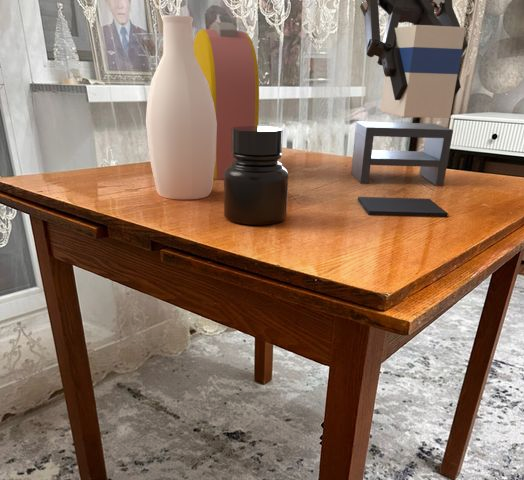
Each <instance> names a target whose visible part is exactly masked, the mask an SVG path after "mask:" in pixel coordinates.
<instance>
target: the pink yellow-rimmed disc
mask: <svg viewBox="0 0 524 480" xmlns="http://www.w3.org/2000/svg"><path fill="white" fill-rule="evenodd" d="M195 34H196V35H195V37H194V39H193V45H194V55H195V57H196V59H197V61H198V63H199V65H200V67H201V69H202V71H203V73H204V75H205V77H206V79H207V81H208V84H209V88H210V91H211V95H212V98H213V102H214V108H215V114H216V121H217V133H216V161H215V169H214V176H213V180H224V172H225V169H226V168H227V167H228V166H230V165H231V163H232V162H233V161H235V158H233V157H232V128H233V127H239V126H259V120H260V119H259V117H260V76H259V65H258V58H257V52H256V49H255V45H254V43H253V40H252V39H251V37H250V35H249V34H248V33H247V32H245V31H242V30H237V28H236V26H235V25H234V24H233V23H232V22H223V21H214V22H213V23H212V24H211V25H210V27H209V28H208V29H207V28H206V29H205V28H202V29H199V30H198V32H197V33H195Z"/></svg>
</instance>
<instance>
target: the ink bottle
mask: <svg viewBox="0 0 524 480" xmlns="http://www.w3.org/2000/svg"><path fill="white" fill-rule="evenodd" d="M283 131H284V129H282V128H281V127H280V128H279V127H274V126H261V125H260V126H259V125H258V126H239V127H233V128H232V157H233V158H235V161H233V162H232V163H231V165H230V166H228V167H227V168H226V169H225V172H224V179H223V215H224V218H225V219H226V220H228V221H230V222H233V223H237V224H243V225H248V226H249V225H250V226H252V225H253V226H265V225H273V224H277V223H280V222H283V221H284V220H286V218H287V215H288V214H287V213H288V195H289V194H288V193H289V172H288V170H287V168H285V167H284V166H283V164H282V163H281V162H279V160H281V158H282V153H283V133H284V132H283Z"/></svg>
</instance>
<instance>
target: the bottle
mask: <svg viewBox="0 0 524 480" xmlns="http://www.w3.org/2000/svg"><path fill="white" fill-rule="evenodd" d="M161 21H162V36H163V37H162V56H161V58H160V61H159V63H158V65H157V67H156V69H155V72H154V74H153V76H152V79H151V81H150V86H149V90H148V95H147V100H146V113H145V127H146V128H145V129H146V136H147V137H146V138H147V145H148V146H147V147H148V154H149V161H150V167H151V171H152V176H153V181H154V186H155V190H156V193H157V195H159V197H161V198H165V199H169V200H179V201H180V200H182V201H183V200H186V201H187V200H188V201H189V200H199V199H204V198H208V197H209V195H210V194H211V193H212V191H213V183H214V179H213V176H214V169H215V161H216V133H217V121H216V114H215V108H214V102H213V98H212V95H211V91H210V88H209V84H208V81H207V79H206V77H205V75H204V73H203V71H202V69H201V67H200V65H199V63H198V61H197V59H196V57H195V55H194V45H193V43H194V34H193V33H194V32H193V31H194V30H193V22H194V17H192V16H189V15H177V14H165V15H164V14H163V15H161Z"/></svg>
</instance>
